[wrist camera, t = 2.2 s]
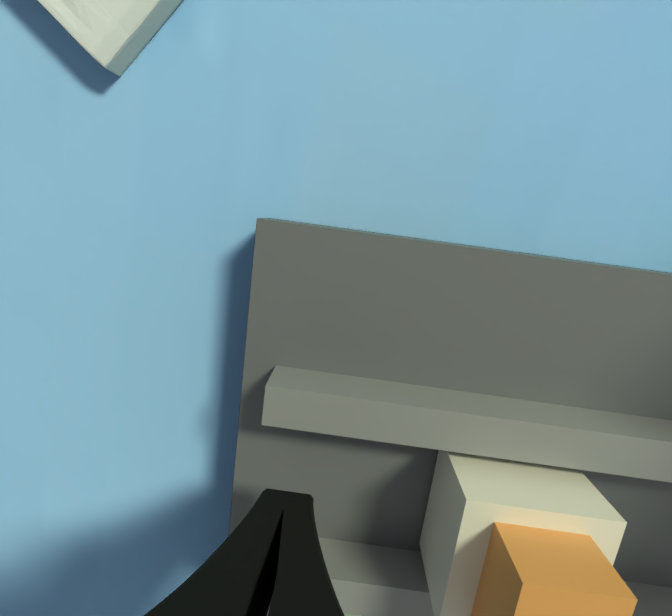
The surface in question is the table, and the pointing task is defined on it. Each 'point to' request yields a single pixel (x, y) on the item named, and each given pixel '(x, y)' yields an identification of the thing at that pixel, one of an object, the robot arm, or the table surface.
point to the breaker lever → (520, 541)
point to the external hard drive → (112, 26)
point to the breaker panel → (448, 393)
